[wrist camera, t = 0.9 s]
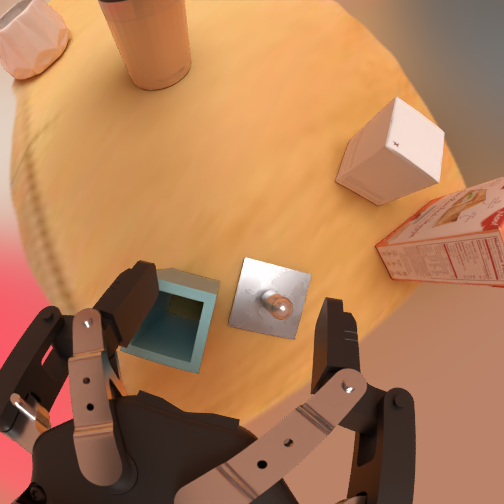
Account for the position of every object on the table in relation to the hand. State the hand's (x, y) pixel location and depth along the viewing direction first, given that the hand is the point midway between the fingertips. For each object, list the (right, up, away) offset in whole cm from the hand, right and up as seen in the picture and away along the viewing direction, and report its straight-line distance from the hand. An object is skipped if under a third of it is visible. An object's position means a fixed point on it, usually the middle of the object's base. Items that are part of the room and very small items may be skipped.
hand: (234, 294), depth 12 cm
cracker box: (+24, +4, +23) cm, 33 cm away
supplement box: (+16, +13, +22) cm, 30 cm away
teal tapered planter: (-6, -4, +19) cm, 20 cm away
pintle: (+3, -4, +20) cm, 20 cm away
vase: (-39, +40, +17) cm, 58 cm away
